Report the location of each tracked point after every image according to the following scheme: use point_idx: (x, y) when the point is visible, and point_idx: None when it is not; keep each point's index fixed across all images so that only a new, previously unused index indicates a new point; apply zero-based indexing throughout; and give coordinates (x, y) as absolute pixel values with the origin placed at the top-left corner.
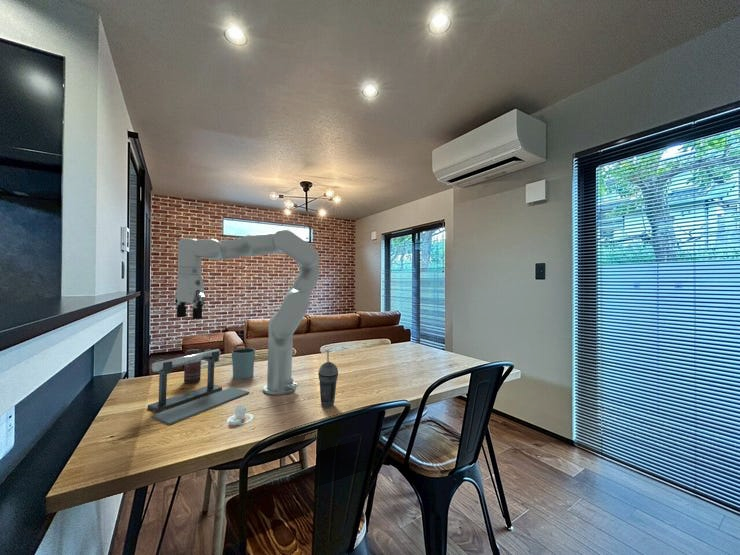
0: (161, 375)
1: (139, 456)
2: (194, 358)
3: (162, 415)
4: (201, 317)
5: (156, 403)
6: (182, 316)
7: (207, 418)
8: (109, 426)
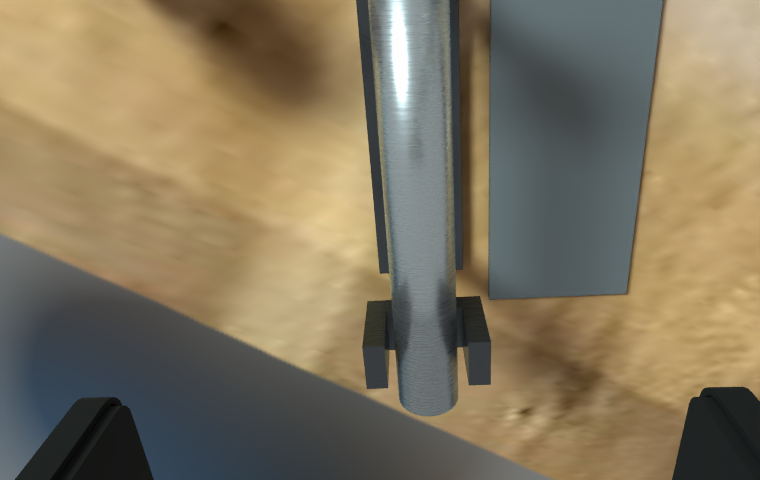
0: None
1: None
2: (452, 144)
3: (530, 277)
4: (747, 403)
5: None
6: (141, 463)
7: (721, 177)
8: None
